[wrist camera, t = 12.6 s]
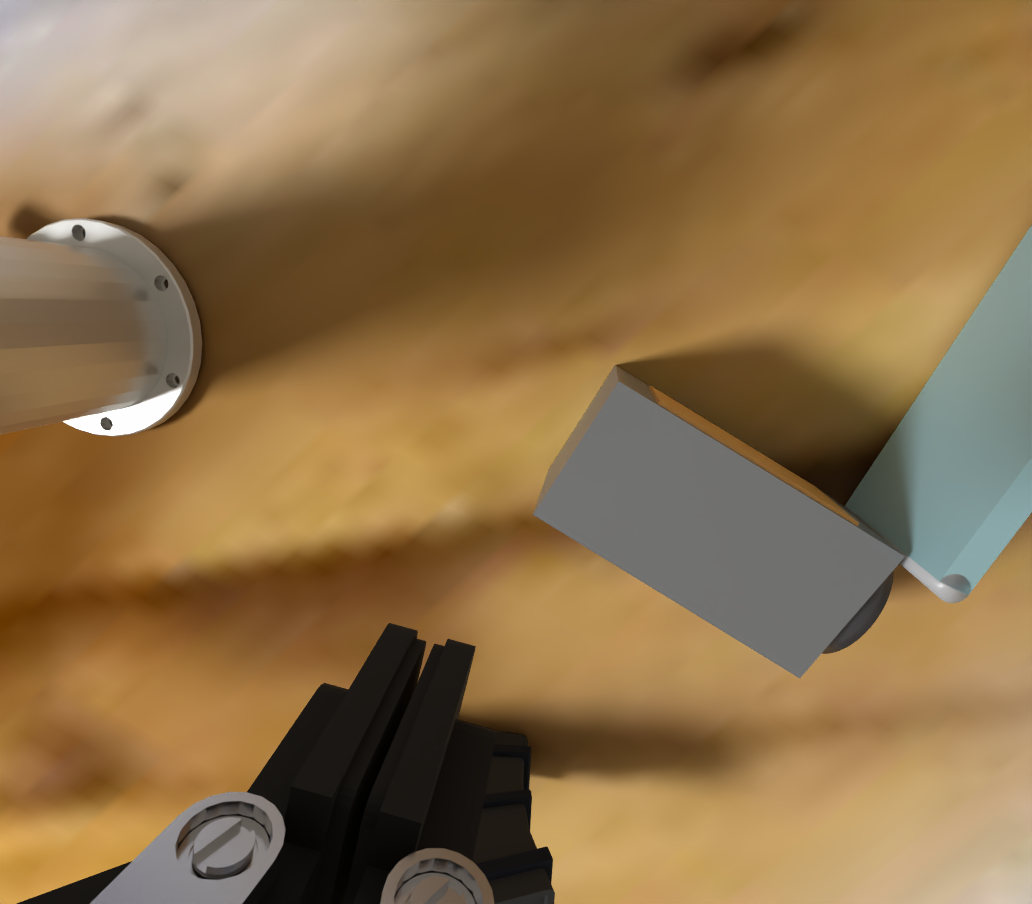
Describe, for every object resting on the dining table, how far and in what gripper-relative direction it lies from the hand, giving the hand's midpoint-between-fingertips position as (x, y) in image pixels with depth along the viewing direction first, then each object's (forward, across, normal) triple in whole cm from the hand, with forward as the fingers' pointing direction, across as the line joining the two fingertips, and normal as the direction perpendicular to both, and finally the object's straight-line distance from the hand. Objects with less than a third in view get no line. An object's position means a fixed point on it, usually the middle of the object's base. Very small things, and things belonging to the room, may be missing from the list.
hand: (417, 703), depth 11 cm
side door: (+23, -20, -10) cm, 32 cm away
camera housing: (+24, -9, 0) cm, 26 cm away
